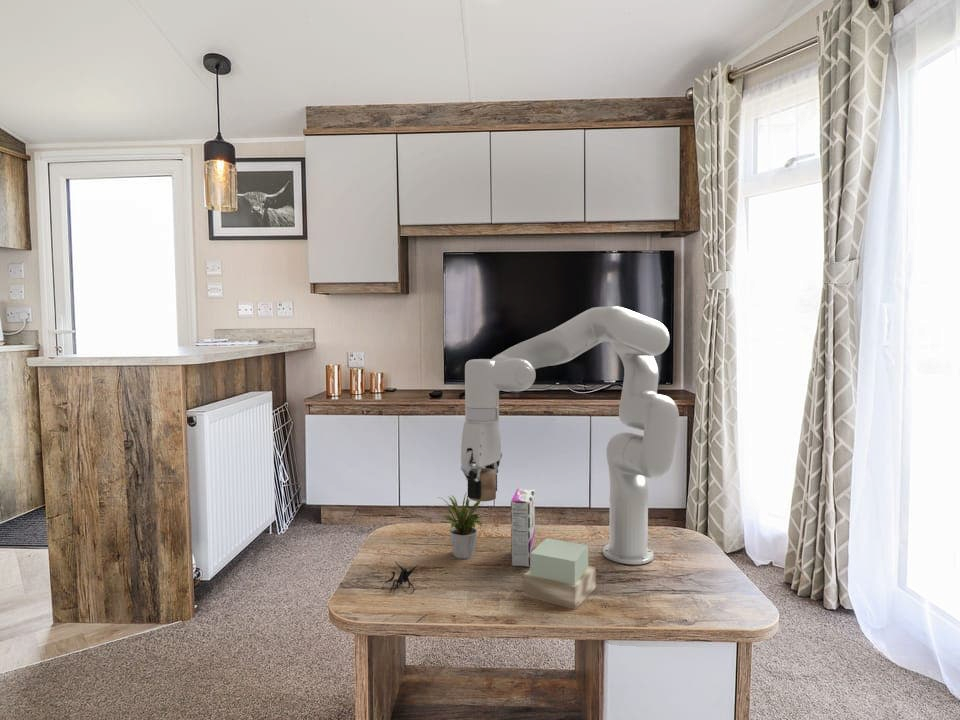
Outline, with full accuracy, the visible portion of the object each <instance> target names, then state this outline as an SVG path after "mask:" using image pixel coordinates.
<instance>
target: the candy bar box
mask: <svg viewBox="0 0 960 720" xmlns="http://www.w3.org/2000/svg"><path fill="white" fill-rule="evenodd" d="M535 516H536V515H535V489H528V488H527V489H526V488H517V489H516V491H515V493H514V495H513V497H512V498H511V500H510V529H511V530H510V533H511V534H510V535H511V536H510V537H511V541H510V542H511V543H510V545H511V549H510V551H511V553H510V554H511V557H510V558H511V559H510V560H511V566H512V567H521V568H522V567H523V568H530V553H531V552H532V551H533V550H534V549H535V548H536V545H535V544H536V540H535V538H536V536H535V535H536V533H535V531H536V529H535V528H536V527H535V521H536V520H535V519H536V517H535Z"/></svg>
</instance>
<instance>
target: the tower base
mask: <svg viewBox="0 0 960 720" xmlns="http://www.w3.org/2000/svg"><path fill="white" fill-rule="evenodd" d="M596 574H597V568H596V567H595V566H591V565H588V568H587V570H586V571H585V572H584V573H583V575H582V576H581V577H580V579H579V580H578V581H577V582H576V584H575V585H573V584H568V583H564V582H559V581H554V580H549V579H544V578H539V577H535V576H530V569H529V570H528V571H527V572H525V573H524V574H523V596H524V597H529V598H533V599H536V600H540V601H543V602H545V603H546V602H547V603H551V604H553V605H557V606H561V607H566V608H569V609H572V610H576V609H577V608H578V607H579V606H580V605H581V604H582V603H583V602H584V601H585V599H587V597H588V596H589V595H590V594H591V593H592V592H594V590H595V589H596V585H597V583H596V580H597V575H596Z"/></svg>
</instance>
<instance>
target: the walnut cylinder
mask: <svg viewBox="0 0 960 720" xmlns="http://www.w3.org/2000/svg"><path fill="white" fill-rule="evenodd" d="M472 471H473V472H474V473H476V470H475V469H473V470H472ZM479 481H481V499H473V498H469V497H468V499H469V500H470V499H471V500H470V501H475V502H477V501H481V502H491V501H494V500H496V498H497V494H496V493H497V491H496V471H495V470H494V469H491V468H485V467H483V468H481V473H480V478H479Z"/></svg>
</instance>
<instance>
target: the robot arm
mask: <svg viewBox="0 0 960 720" xmlns="http://www.w3.org/2000/svg"><path fill="white" fill-rule="evenodd" d="M668 330H669V329H668V328H667V327H666V326H665V325H664V324H663V323H662V322H660V321H659V320H657V319H654V318H651V317H648V316H646V315H644V314H641V313H639V312H636V311H633V310H631V309H628V308H625V307H622V306H617V305H615V306H614V305H613V306H612V305H611V306H597V307H596V306H595V307H591V308H589V309H587V310H585V311H583V312H581V313H579V314H577V315H576V316H574V317H572V318H571V319H569V320H567V321H565V322H564V323H562V324H560V325H558V326H556V327H555V328H553V329H551V330H549V331H546V332H543V333H541V334H540V333H539V334H538V335H536V336H534V337H532V338H529V339H527V340H524V341H521V342H519V343H517V344H515V345H513V346H511V347H508V348H507V349H505V350H504V351H502V352H500V353H498V354H496V355H495V356H493V357H492V358H491V359H490V358H487V359H486V358H478V359H477V358H476V359H475V358H473V359H469V360H468V361H466V363H465V365H464V389H465V390H464V394H465V395H464V399H465V401H464V404H465V407H464V414H465V415H464V418H465V419H464V420H465V422H464V423H463V426H462V433H461V445H460V446H461V447H460V464H461V466H460V470H461V472H463V474H464V476H465V480H466V481H467V496H468V499H469V498H473V499H481V481H479V478H480V473H481V468H491V469H494V470H495V471H496V492H497V491H498V474H499V466H500V462H501V459H502V457H503V454H502V452H501V451H502V449H501V447H502V446H501V431H500V423H499V422H500V394H499V393H500V391H505V392H506V391H508V392H523V391H526V390H527V389H529V388H531V387H532V385H533V384H534V383H535V380H536V378H537V377H536V375H537V374H536V369H540V368H544V367H548V366H557V365H561V364H565V363H568V362H570V361H572V360H574V359H575V358H577V357H578V356H580V355H582V354H583V353H585V352H587V351H589V350H590V349H592V348H594V347H595V346H598V345H599V344H600V343H610V345H611V347H612V348H613V350H614V351H615V352H616V354H617V355H618V356H619V358H620V360H621V362H622V365H623V369H624V372H623V373H624V375H623V383H622V389H621V394H620V395H621V396H620V401H619V409H618V417H619V421H621V423H622V424H623V425H625V426H626V427H629V428H632V429H636V430H640V431H643V435H641V434H636V433H632V432H619V433H617V434H614V435H613V436H612V437H611V438H610V439H609V441H608V442H607V446H606V460H607V466H608V474H609V524H608V525H609V530H608V531H609V537H608V538H609V540H608V541H609V542H608V544H606V545H604V546H603V548H602V555H603V556H604V557H605V558H606V559H608V560H610V561H612V562H615V563H619V564H625V565H645V564H649V563H650V562H652V561H653V559H654V555H655V554H654V551H652V549H650V548H649V547H648V536H649V535H648V528H649V527H648V525H649V523H648V522H649V515H648V514H649V486H648V481H647V478H648V479H653V480H657V479H661V478H663V477H664V476H666V475H667V474H668V472H669V471H670V469H671V466H672V463H673V460H674V454H675V449H676V442H677V438H678V437H677V436H678V430H679V424H680V413H679V408H678V406H677V404H676V402H675V400H673V399H672V398H671V397H670V396H668V395H664V394H660V393H658V386H659V378H660V376H659V375H660V373H659V367H658V366H659V365H658V364H657V361H656V358H655V357H656V356H659V355H662V354H663V353H664V352H665V351H666V350H667V348H668V347H669V345H670V339H671V338H670V333H669V331H668ZM474 464H475V465H474ZM473 469H475V470H476V473H474V472H473V471H472V470H473Z"/></svg>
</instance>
